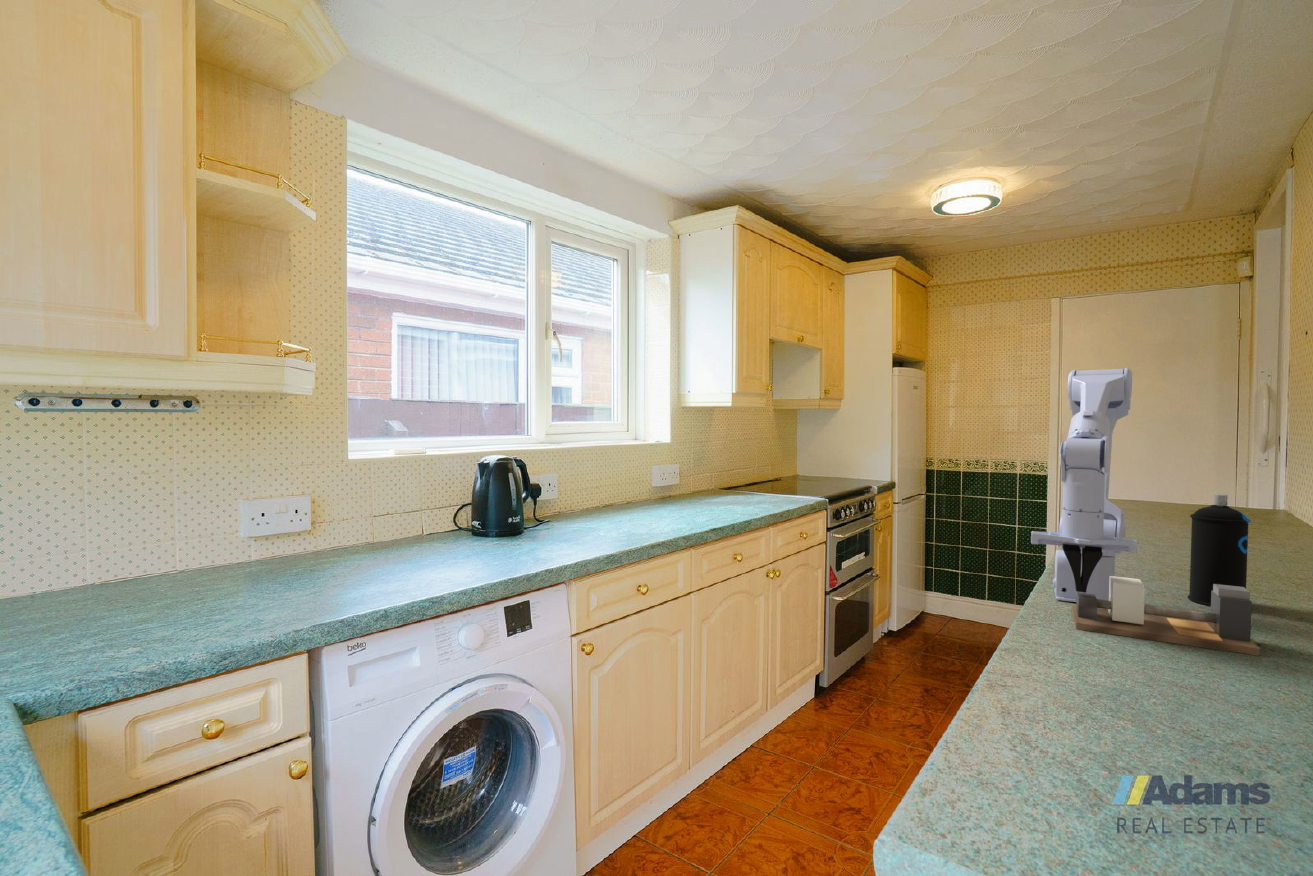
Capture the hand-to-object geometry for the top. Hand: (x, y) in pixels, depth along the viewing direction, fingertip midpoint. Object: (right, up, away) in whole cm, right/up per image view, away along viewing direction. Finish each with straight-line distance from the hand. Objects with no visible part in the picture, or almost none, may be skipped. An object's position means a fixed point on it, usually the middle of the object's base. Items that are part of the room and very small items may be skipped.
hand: (1080, 590), depth 104 cm
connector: (+16, -5, -9) cm, 20 cm away
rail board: (+9, -5, -5) cm, 11 cm away
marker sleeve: (+5, -4, -3) cm, 7 cm away
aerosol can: (+32, -5, +10) cm, 34 cm away
